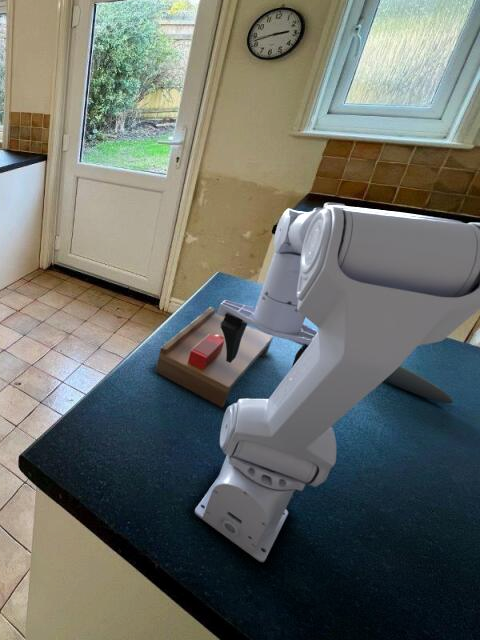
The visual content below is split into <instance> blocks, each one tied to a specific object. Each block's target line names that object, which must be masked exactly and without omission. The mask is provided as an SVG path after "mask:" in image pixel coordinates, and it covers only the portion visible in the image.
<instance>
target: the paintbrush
mask: <svg viewBox="0 0 480 640" xmlns="http://www.w3.org/2000/svg"><path fill="white" fill-rule="evenodd" d="M383 382H386V383H389V384H390V385H393V386H395V387H398V388H400V389H402V390H403V391H407V392H409V393H411V394H414V395H416V396H419V397H422V398H425V399H428V400H431V401H434V402H439V403H443V404H452V403H453V402H454V401H453V399H452V397H451V396H450V395H449V394H448V393H447V392H446V391H444V390H443V389H442V388H440V387H439V386H437V385H436V384H435V383H432V382H431V381H429V380H428V379H426V378H424V377H423V376H421V375H419V374H418V373H416V372H414V371H412V370H410V369H408V368H407V367H404V366H402V365H400V366H399V367H398V368H397V369H396V370H395V371H394V372H393V373H392V374H391V375H390V376H388V377H387V378H386V379H385V380H384V381H383Z"/></svg>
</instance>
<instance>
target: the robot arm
mask: <svg viewBox="0 0 480 640" xmlns="http://www.w3.org/2000/svg"><path fill="white" fill-rule="evenodd" d="M273 250H274V253H273V255H272V259H271V261H270V265H269V268H268V270H267V274H266V277H265V280H264V282H263V286H262V288H261V291H260V294H259V297H258V300H257V303H256V306H251V305H248V304H247V305H246V304H242V303H237V302H234V301H231V300H227V299H224V300H223V301H222V302H221V303H220V304H219V306H218V309H217V313H216V314H218V315H221V316H223V317H225V318H224V320H223V321H222V322H221V329H222V331H223V334H224V337H225V342H226V350H227V357H226V361H228V362H230V363H231V362H232V361H233V360H234V359H235V358H236V355H237V353H238V349H239V346H240V342H241V338H242V336H243V333H244V331H245V328H246V326H249V325H250V326H252V327H254V329H256V330H258V331H261V332H264V333H266V334H269V335H271V336H273V337H276V338H279V339H285V340H288V341H291V342H292V343H296V344H298V345H301V346H300V348H299V349H298V351H297V352H296V353H295V356H294V360H293V362H292V365H291V368H290V369H289V371H288V372H287V373H286V375H285V376H284V378H283V379H282V380H281V382H280V383H279V384H278V385H277V387H276V388H275V390H274V391H273V392H272V394H271V395H270V396H269V398H238V400H237V402H234V403H232V404H231V405H229V406H227V408H226V410H225V412H224V414H223V419H222V423H221V427H220V434H219V447H220V449H221V450H222V453H223V454H224V455H226V456H225V459H224V461H223V464H222V466H221V469H220V472H219V474H218V476H217V478H216V479H215V481H214V482H213V484H212V485H211V486H210V487H209V489H208V490H207V492H206V493H205V494H204V497H203V498H202V499H201V501H200V502H199V503H198V505H197V506H196V507H195V509H194V514H195V515H196V516H197V517H199V518H200V519H201V520H202V521H204V522H205V523H206V524H208V525H209V526H211V527H212V528H213V529H215V530H216V531H217V532H219V533H220V534H222V535H223V537H225V538H227V539H228V540H230V541H231V542H232V543H234V544H235V545H237V546H238V547H239V548H240V549H242V550H243V551H244V552H246V553H247V554H249V555H250V556H251V557H252V558H254V559H255V560H257V561H258V562H260V563H264V562H265V561H266V560H267V557H268V555H269V554H270V551H271V550H272V547H273V546H274V543H275V541H276V540H277V538H278V535H279V533H280V531H281V529H282V528H283V527H282V526H283V525H284V523H285V521H286V519H287V517H288V515H289V511H288V509H287V507H288V505H289V503H290V501H291V500H292V497H293V495H294V494H295V492H296V490H298V491H300V492H302V491H303V490H304V488H305V487H306V485H308V486H311V487H313V488H314V487H318V486H320V485H321V484H324V482H326V480H327V479H328V476H329V474H330V471H331V470H332V468H333V467H335V464H336V463H337V440H336V435H335V431H334V428H333V427H332V426H334V425H335V424H336V423H337V422H338V421H339V420H340V419H342V418H343V417H344V416H345V415H346V414H347V413H348V412H350V411H351V410H352V409H353V408H354V407H355V406H357V405H358V404H359V403H360V402H361V401H362V400H363V399H365V398H366V397H367V396H368V395H369V394H370V393H371V392H372V391H373V390H375V389H376V388H377V387H378V386H380V385H381V384H382V383H383V382H385V381H384V380H385V379H386V378H387V377H388V376H390V375H391V374H392V373H393V372H394V371H395V370H396V369H397V368H398V367H399V366H402V364H403V363H404V362H405V361H406V360H407V359H408V357H409V356H410V355H411V354H412V353H413V352H414V351H415V350H416V349H417V347H420V346H425V345H431V344H435V343H440V342H443V341H444V340H445V339H446V338H448V337H449V336H450V335H451V334H452V333H454V332H455V331H456V330H457V329H458V328H460V326H462V325H463V324H464V323H466V321H468V320H469V319H470V318H471V317H473V316H474V315H475V314H476V313H477V312H478V311H480V222H472V221H471V222H468V223H465V222H463V221H460V220H455V219H448V218H442V217H436V216H435V217H434V216H428V215H422V214H414V213H407V212H400V211H390V210H381V209H373V208H366V207H358V206H357V207H356V206H347V205H345V204H344V203H338V202H329V201H328V202H325V203H324V204H323V207H315V208H313V209H312V210H311V211H308V212H307V211H299V210H294V209H292V208H287V209H286V210H284V212H283V213H282V215H281V217H280V219H279V221H278V223H277V226H276V230H275V233H274V238H273ZM305 319H307V320H308V321H310V322H311V323H312V324H313V325H314V326H316V327H317V330H316V329H314V328H312V327H310V326H308V325H306V324H304V322H305Z"/></svg>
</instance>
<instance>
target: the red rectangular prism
mask: <svg viewBox="0 0 480 640" xmlns="http://www.w3.org/2000/svg"><path fill="white" fill-rule="evenodd" d="M224 341H225V340H224V338H223V337H222V336H221V335H215V336H214V335H212V334H209V335H208V336H207V337H206V338H204V339H203V340H202V341H201V342H200V343H199V344H198V345H197V346H195V347H194V348H193V349H192V351H191V353H190V356H189V360H188V363H190V364H192V365H194V366H196V367H198V368H200V369H202V370H203V369H204V368H205V367H206V366H207V365H208V364H209V363H210V362H211V361H212V360H213V359H214V358H215V357H216V356H217V355H218V354H219V353H220V352H221V350H222V347H223V344H224Z"/></svg>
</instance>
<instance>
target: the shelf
mask: <svg viewBox="0 0 480 640" xmlns="http://www.w3.org/2000/svg"><path fill="white" fill-rule="evenodd" d="M216 309H217V308H216V307H213V306H210V307H209V308H207V309H206V310H205V311H204V312H203V313H202V314H200V315H199V316H197V317H196V318H195V319H194V320H193V321H191V323H189V324H188V325H187V326H185V327H184V328H183V329H182V330H180V331H179V333H176V334H175V335H174V336H173V337H172V338H171V339H170V340H168V341H167V342H166V343H165V344H163V345H162V346H161V347H160V351H159V354H158V358H157V362H156V366H155V371H154V372H156V373H157V374H159V375H161V376H163V377H165V379H168V380H170V381H172V382H174V383H176V384H177V385H179V386H181V387H183V388H185V389H187V390H188V391H191V392H192V393H194V394H196V395H198V396H199V397H202V398H203V399H205V400H206V401H209V402H210V403H213V404H215V405H216V406H218V407H220V408H223V407H225V405H226V403H227V400H228V398H229V394H230V391H231V389H232V388H233V387H234V386H235V385H236V384H237V383H238V382H239V380H240V379H241V378H242V376H243V375H244V374H246V372H247V371H248V370H249V368H250V367H251V366H252V365H253V364H254V363H255V361H257V359H259V357H260V356H261V357H263V358H265V357H266V356H267V355H268V352H269V350H270V347H271V346H272V345H271V344H272V342H273V340H274V336H272V335H269V334H267V333H264V332H262V331H260V330H259V329H257V328H253V327H251V326H249V325H247V326H246V328H245V331H244V333H243V336H242V338H241V342H240V346H239V349H238V353H237V355H236V358H235V359H234V360H233V361H232V362H231V363H230V362H228V361H226V357H227V350H226V342H225V341H224V344H223V347H222V350H221V352H220V353H219V354H218V355H217V356H216V357H215V358H214V359H213V360H212V361H211V362H210V363H209V364H208V365H207V366H206V367H205V368H204V369H203V370H202V369H200V368H198V367H196V366H194V365H192V364H190V363H188V360H189V356H190V353H191V351H192V349H193V348H194V347H195V346H197V345H198V344H199V343H200V342H201V341H202V340H203V339H204V338H206V337H207V336H208V335H209V334H212V335H214V336H215V335H221V336H222V337H223V338H224V340H225V337H224V334H223V331H222V329H221V322H222V321H223V320H224V318H225V316H221V315H218V314H217V313H216Z"/></svg>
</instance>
